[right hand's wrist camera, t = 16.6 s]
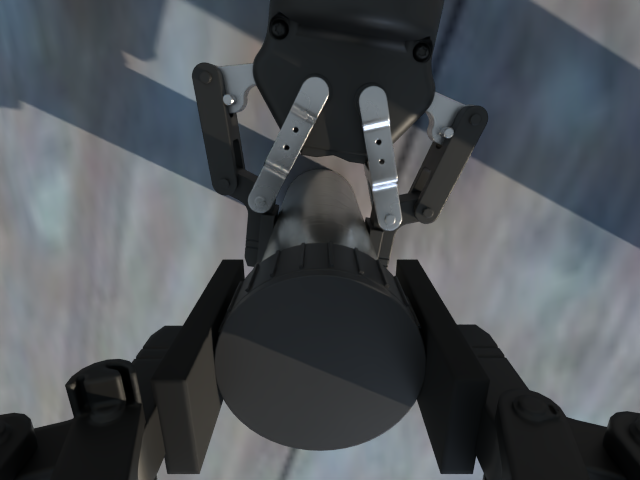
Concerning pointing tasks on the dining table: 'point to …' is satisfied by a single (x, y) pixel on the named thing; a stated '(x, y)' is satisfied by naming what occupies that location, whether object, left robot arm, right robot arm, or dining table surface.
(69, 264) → the dining table surface
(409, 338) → the lid
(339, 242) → the thermos
